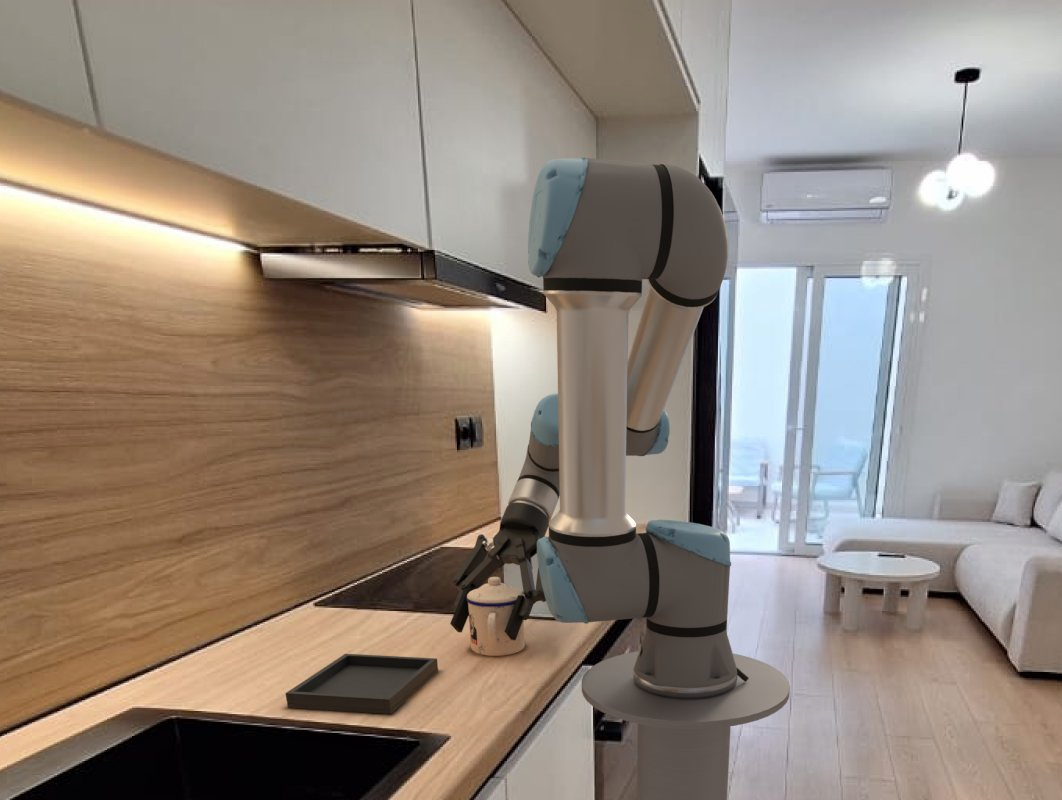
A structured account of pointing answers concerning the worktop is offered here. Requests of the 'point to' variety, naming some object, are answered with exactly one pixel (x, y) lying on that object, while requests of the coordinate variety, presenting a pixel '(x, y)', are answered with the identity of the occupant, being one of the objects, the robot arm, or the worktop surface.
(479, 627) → the teacup with lid
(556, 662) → the worktop surface
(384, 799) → the worktop surface
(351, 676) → the base pad
